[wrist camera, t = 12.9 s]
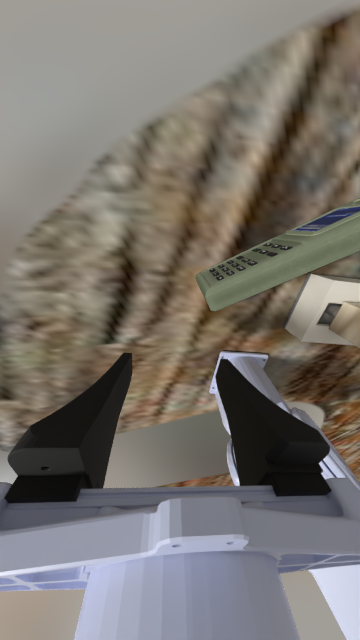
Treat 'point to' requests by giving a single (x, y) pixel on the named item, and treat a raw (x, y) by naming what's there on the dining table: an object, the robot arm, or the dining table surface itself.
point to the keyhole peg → (344, 320)
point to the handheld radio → (283, 257)
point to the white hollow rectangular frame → (320, 307)
